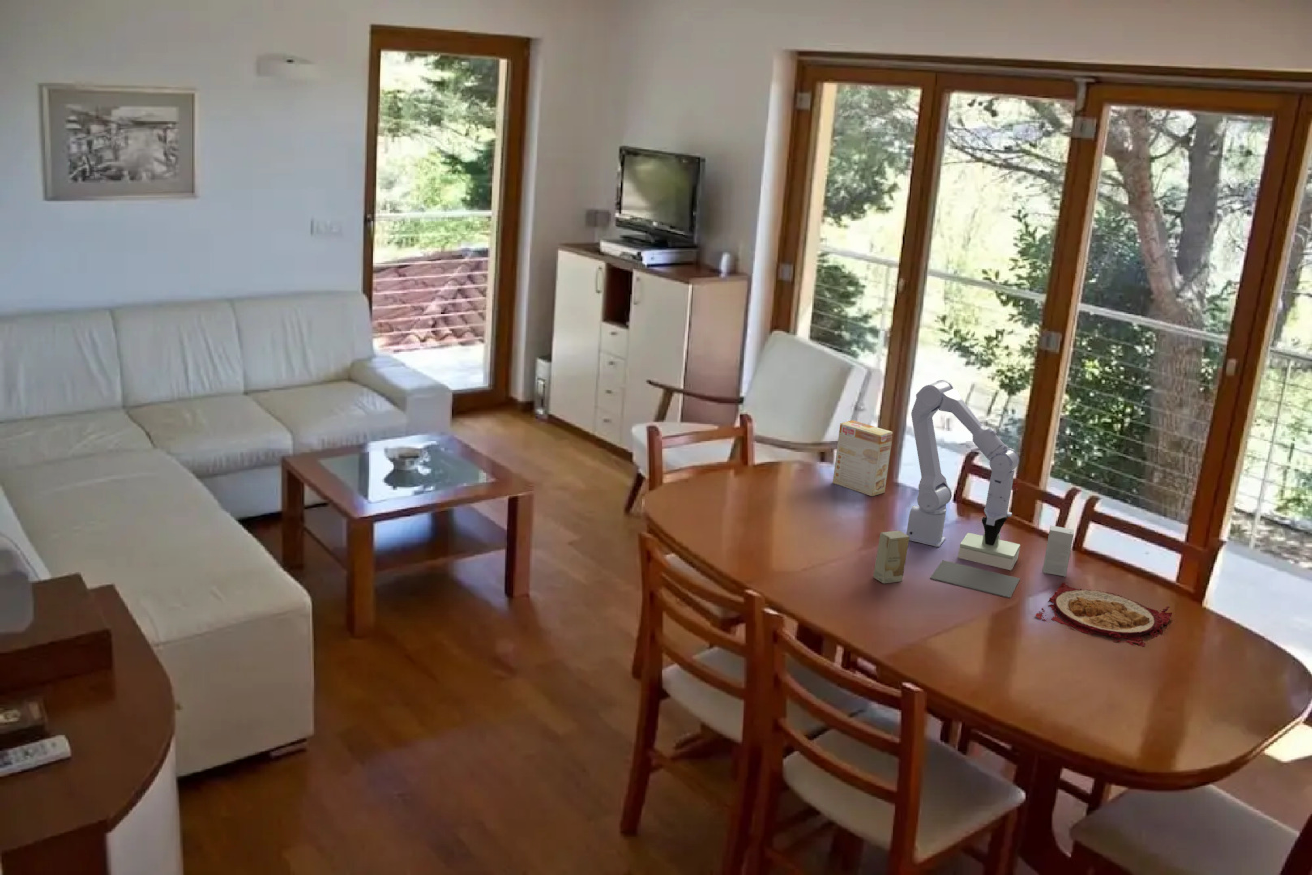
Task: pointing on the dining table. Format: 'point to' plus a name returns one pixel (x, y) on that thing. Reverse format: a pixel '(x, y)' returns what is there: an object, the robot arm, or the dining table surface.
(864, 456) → the coffeecake box
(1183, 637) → the dining table surface
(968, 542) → the lid
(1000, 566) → the parts tray
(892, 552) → the skincare box
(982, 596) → the dining table surface
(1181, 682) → the dining table surface
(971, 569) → the mat
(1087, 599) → the plate with food
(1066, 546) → the skincare box
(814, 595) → the dining table surface
